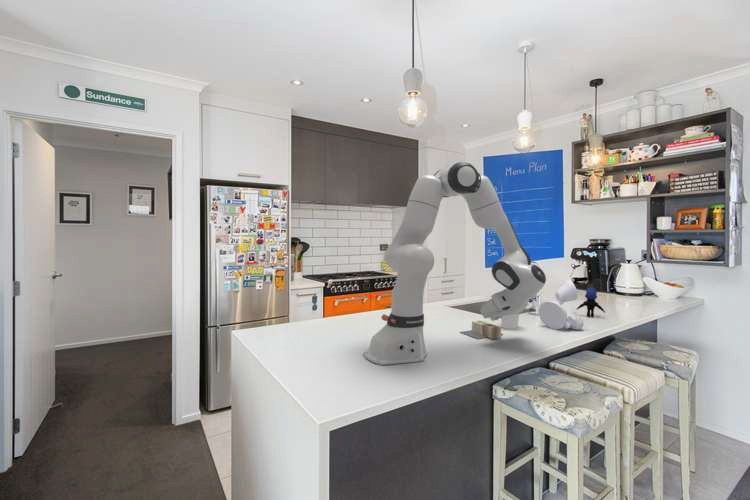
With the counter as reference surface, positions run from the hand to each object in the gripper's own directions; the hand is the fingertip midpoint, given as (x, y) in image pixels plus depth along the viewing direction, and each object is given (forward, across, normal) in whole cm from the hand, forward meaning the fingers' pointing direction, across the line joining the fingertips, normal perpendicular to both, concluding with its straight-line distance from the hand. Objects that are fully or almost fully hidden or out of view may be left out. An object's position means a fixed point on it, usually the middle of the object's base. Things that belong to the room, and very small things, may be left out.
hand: (493, 319), depth 153 cm
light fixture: (+6, -41, +5) cm, 42 cm away
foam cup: (+12, -19, 0) cm, 23 cm away
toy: (+10, -74, +2) cm, 75 cm away
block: (+2, 0, +5) cm, 6 cm away
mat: (+10, 0, +1) cm, 10 cm away
